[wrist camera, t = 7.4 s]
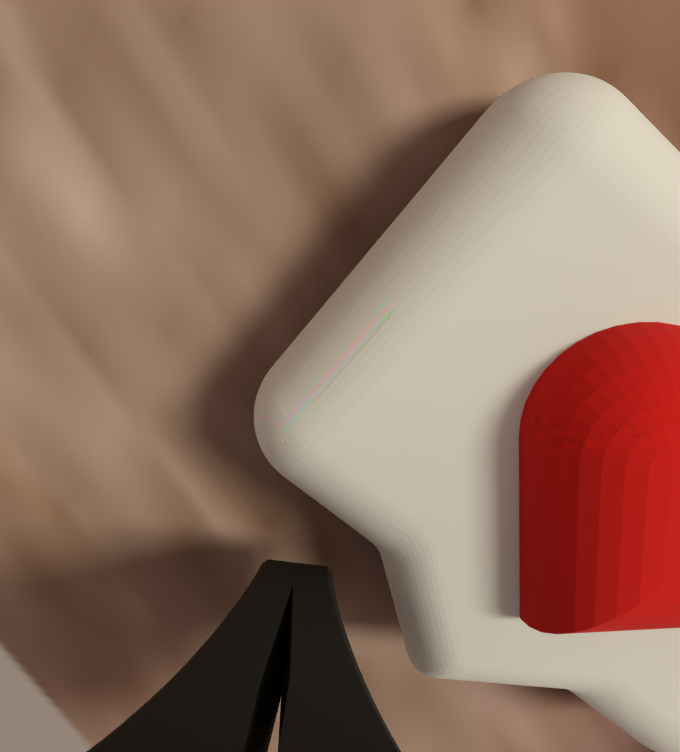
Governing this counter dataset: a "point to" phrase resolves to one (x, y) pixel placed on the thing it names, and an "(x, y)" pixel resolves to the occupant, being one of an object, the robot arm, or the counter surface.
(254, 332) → the counter surface
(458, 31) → the counter surface
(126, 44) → the counter surface
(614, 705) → the icon
